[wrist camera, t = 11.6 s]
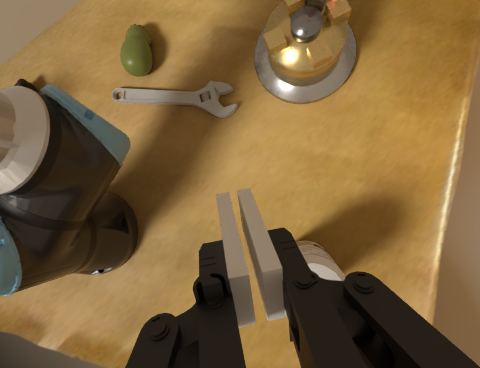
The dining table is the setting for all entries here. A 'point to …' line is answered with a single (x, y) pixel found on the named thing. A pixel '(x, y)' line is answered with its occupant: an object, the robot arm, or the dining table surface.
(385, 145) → the dining table surface
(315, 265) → the supplement can
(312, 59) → the toy block assembly
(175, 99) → the adjustable wrench
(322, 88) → the spindle base
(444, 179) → the dining table surface
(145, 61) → the pear
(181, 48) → the dining table surface
